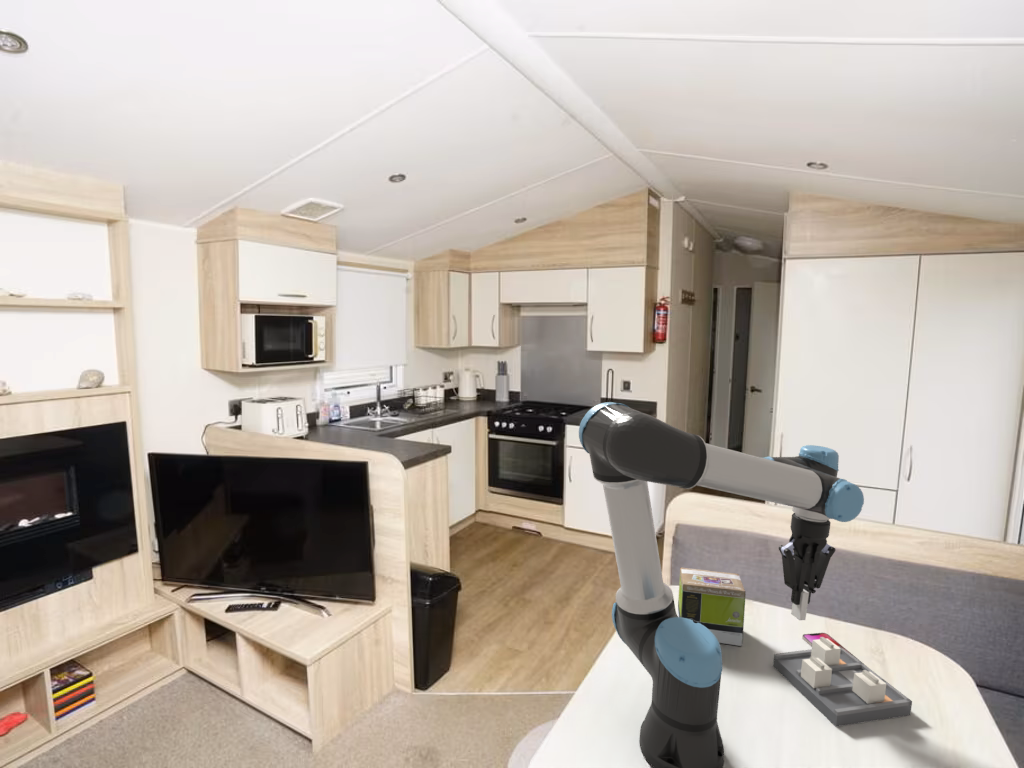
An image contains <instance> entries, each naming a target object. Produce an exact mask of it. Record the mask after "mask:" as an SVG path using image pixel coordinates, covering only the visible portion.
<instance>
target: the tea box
mask: <svg viewBox="0 0 1024 768" xmlns="http://www.w3.org/2000/svg"><path fill="white" fill-rule="evenodd" d="M746 593H747V592H746V590H745V587H744V584H743V582H742V579H741V577H740V574H739V573H735V572H734V573H733V572H723V571H714V570H707V569H698V568H689V567H688V568H686V567H680V569H679V584H678V602H677V616H678V617H681V618H687V619H691V620H693V622H694V623H700V624H702V625H703V626H705V627H706V628H708V629H709V630H710V631H711V632H712V633H713V634H714V635H715V637H716V638H717V640H718V642H719V644H725V645H731V646H739V647H742V646H743V641H744V638H743V637H744V626H745V625H744V624H745V611H746V610H745V609H746Z"/></svg>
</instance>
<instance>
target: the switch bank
mask: <svg viewBox="0 0 1024 768" xmlns="http://www.w3.org/2000/svg"><path fill="white" fill-rule="evenodd" d="M838 647H839V648H841V652H840V660H839V665H833V666H829V667H830V668H831V669H832V674H831V682H830V686H829V687H822V688H813V687H812V686H811V685H810V684H808V683H807V682H806V681H805V680H804V679H803V678H802V677H801V668H802V660H803V659H810V657H811V651H812V648H811V649H803V650H795V651H788V652H787V651H786V652H777V653H774V654H773V662H772V667H773V668H774V669H775V670H776V671H777V672H778V673H779V674H780V675H782V677H783V678H784V679H785V680H786V681H787V682H789V684H791V685H792V686H793V687H794V688H795V689H796V690H797V691H798V692H799V693H800V694H801V695H802V696H804V698H805V699H806V700H807V701H809V702H810V704H811V705H813V706H814V707H815V708H816V709H817V710H818V711H819V712H820V713H821V714H822V715H823V716H824V717H825V718H826V719H827V720H828V721H829V722H830V723H831V724H832V725H833V726H835V727H836V728H837V727H843V726H848V725H849V726H851V725H858V724H862V723H868V722H875V721H883V720H889V719H895V718H903V717H909V716H911V713H912V705H913V701H912V700H911V699H910V698H909V697H907V695H905V694H903V693H902V692H901V691H899V690H898V689H896V688H895V687H894V686H893V685H892V684H891V683H889V682H888V681H887V680H885V679H884V678H883V677H882V676H880V675H878V674H877V673H876V672H875V671H873V670H872V669H871V668H869V667H868V666H867V665H866V664H865V663H864V664H865V665H864V664H863V661H861V660H860V659H859V658H857V657H856V656H855V655H854V654H853V655H854V656H855V657H856V658H857V659H856V658H855V657H854V656H853V655H851V654H852V653H851V652H850V651H849V652H850V653H851V654H850V653H849V652H847V651H846V650H845V649H846V648H845V649H843V648H842V647H841V646H838ZM858 659H859V660H860V661H861V662H860V661H859V660H858ZM863 670H867V671H868V672H869V671H870V672H872V673H873V674H874V675H876V676H877V677H878V678H880V679H881V680H882V681H883V682H885V683H886V691H885V699H884V702H878V703H871V704H867V703H866V702H865V701H864V700H863V699H861V698H860V697H859V696H858V695H857V694H856V693H854V692H853V691H852V688H853V680H854V673H861V672H863Z"/></svg>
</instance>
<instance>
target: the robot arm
mask: <svg viewBox="0 0 1024 768" xmlns="http://www.w3.org/2000/svg"><path fill="white" fill-rule="evenodd" d="M578 439H579V441H580V442H579V443H580V444H581V446H582V448H583V449H584V451H585V452H586V453H587V454H589V459H590V463H591V468H592V469H591V471H592V475H593V478H594V479H595V480H596V481H597V482H599V483H600V484H602V486H603V491H604V493H603V494H604V498H605V504H606V510H607V516H608V521H609V526H610V531H611V538H612V543H613V549H614V555H615V556H614V557H615V561H616V566H617V573H618V577H619V583H620V587H619V588H618V589H617V591H616V592H615V602H614V603H613V605H612V610H611V621H612V624H613V626H614V629H615V631H616V634H617V635H618V637H619V638H620V639H621V641H622V642H623V643H624V644H625V645H626V646H627V647H628V648H629V649H630V651H631V652H632V654H633V655H634V656H635V658H636V659H637V660H638V661H639V662H640V663H641V665H642V666H643V668H644V670H646V671H647V673H648V674H649V675H650V677H651V679H652V689H651V690H652V693H651V704H650V706H649V708H648V710H647V713H646V715H645V717H644V720H643V721H642V723H641V724H640V725H641V726H640V728H639V729H640V730H639V748H640V752H641V754H642V755H643V757H644V758H645V761H647V762H648V764H649V765H650V766H651V767H652V768H724V762H725V747H724V743H723V738H722V735H721V731H720V728H719V727H720V726H719V723H718V710H719V709H718V708H719V701H720V700H719V699H720V690H721V681H722V672H723V657H722V656H723V655H722V653H723V652H722V647H721V643H719V642H718V640H717V638H716V637H715V635H714V634H713V633H712V632H711V631H710V630H709V629H708V628H706V627H705V626H703V625H702V624H700V623H694V622H693V620H691V619H687V618H681V617H678V613H677V611H676V607H675V605H676V604H675V598H674V594H673V593H674V592H673V591H672V588H671V587H670V586H669V585H668V584H666V583H664V580H663V579H664V578H663V572H662V566H661V559H660V555H659V547H658V542H657V536H656V528H655V522H654V515H653V510H652V503H651V496H650V489H649V483H654V484H660V485H665V486H671V487H676V488H679V489H687V490H690V489H692V488H694V487H696V486H697V487H703V488H707V489H711V490H716V491H721V492H725V493H730V494H734V495H739V496H743V497H749V498H753V499H757V500H761V501H765V502H771V503H775V504H779V505H783V506H787V507H792V512H793V513H792V515H791V518H790V519H791V521H790V530H791V536H790V538H789V539H788V543H786V545H783V544H781V545H779V546H778V551H779V552H780V555H781V560H782V573H783V581H784V585H786V586H787V587H788V588H790V589H791V596H790V597H791V598H790V601H791V603H792V605H791V613H790V614H791V615H792V616H793V617H794V618H796V619H797V620H798V621H806V618H807V610H808V605H810V602H811V598H812V597H811V595H812V594H816V592H817V590H815V589H820V588H821V586H822V584H823V581H824V579H825V578H824V577H825V575H826V572H827V569H828V566H829V563H830V560H831V557H833V555H834V553H835V552H836V548H835V547H834V546H831V544H828V541H827V539H828V538H829V536H830V531H831V521H830V520H835V521H837V522H841V523H849V522H851V521H853V520H855V519H856V518H857V517H858V516H859V515H860V513H862V510H863V509H862V508H863V506H864V503H865V501H864V500H865V497H864V493H863V491H862V489H861V488H860V487H859V486H858V485H856V484H855V483H852V482H850V481H848V480H847V479H845V478H841V477H838V472H839V471H840V470H839V462H840V461H839V457H840V456H839V453H838V452H837V451H836V450H835V449H833V448H830V447H825V446H820V445H814V444H813V445H812V444H807V445H802V446H801V447H800V450H799V453H798V456H770V455H769V456H765V457H761V456H756V455H753V454H748V453H744V452H740V451H737V450H734V449H729V448H726V447H723V446H717V445H714V444H710V443H706V442H705V440H704V439H703V438H702V437H701V436H700V435H698V434H696V433H691V432H687V431H685V430H682V429H681V428H678V427H675V426H672V425H670V424H668V423H666V422H665V421H662V420H660V419H658V418H656V416H655V417H654V416H653V415H650V414H647V413H645V412H643V411H639V410H636V409H633V408H631V407H629V406H628V405H626V404H624V403H620V402H612V401H609V402H608V401H607V402H601V403H598V404H596V405H595V406H593V407H591V408H590V409H589V410H588V411H587V412H586V413H585V414H584V416H583V418H582V419H581V421H580V423H579V426H578Z"/></svg>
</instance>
